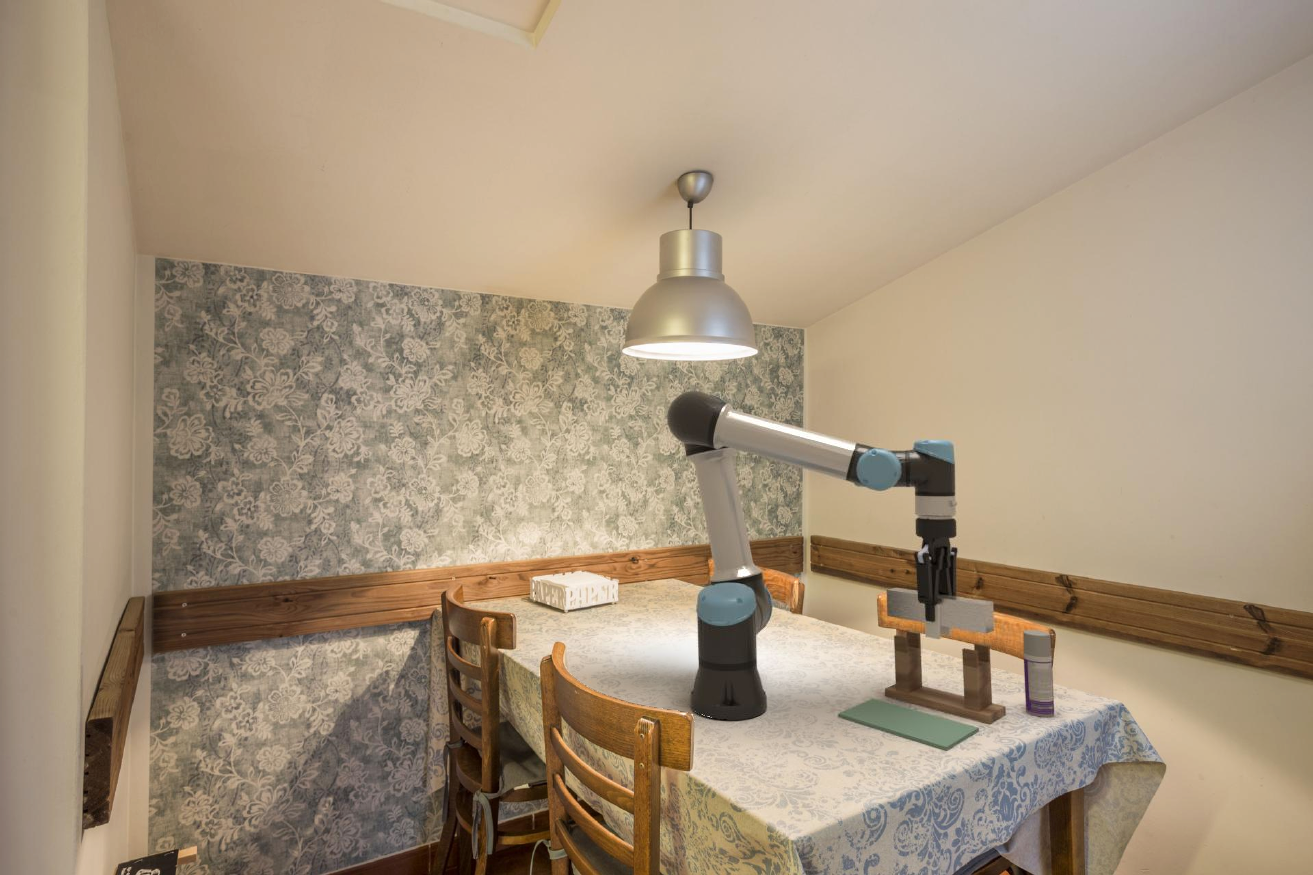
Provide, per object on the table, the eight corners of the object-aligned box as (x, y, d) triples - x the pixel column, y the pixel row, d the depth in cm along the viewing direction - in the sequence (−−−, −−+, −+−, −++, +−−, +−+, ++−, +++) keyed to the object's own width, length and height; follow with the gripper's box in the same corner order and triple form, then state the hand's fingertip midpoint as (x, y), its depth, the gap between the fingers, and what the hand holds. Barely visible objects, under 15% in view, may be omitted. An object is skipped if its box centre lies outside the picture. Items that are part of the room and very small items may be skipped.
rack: (989, 724, 122) (986, 654, 123) (884, 695, 138) (882, 634, 138) (1005, 714, 127) (1003, 647, 127) (902, 687, 142) (900, 628, 143)
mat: (946, 750, 111) (946, 746, 111) (838, 716, 127) (838, 713, 127) (978, 730, 119) (978, 727, 119) (872, 701, 135) (872, 698, 135)
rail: (985, 633, 124) (984, 604, 124) (887, 615, 139) (886, 589, 140) (994, 630, 127) (993, 601, 127) (896, 613, 142) (895, 587, 142)
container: (1028, 706, 130) (1025, 628, 131) (1056, 711, 127) (1052, 631, 128) (1023, 713, 127) (1020, 633, 127) (1052, 719, 124) (1048, 636, 124)
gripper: (933, 520, 126) (936, 647, 125) (973, 515, 136) (976, 632, 135) (896, 518, 131) (898, 639, 130) (937, 513, 142) (940, 625, 141)
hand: (938, 635), depth 133 cm, fingers closed on rail, 4 cm apart
